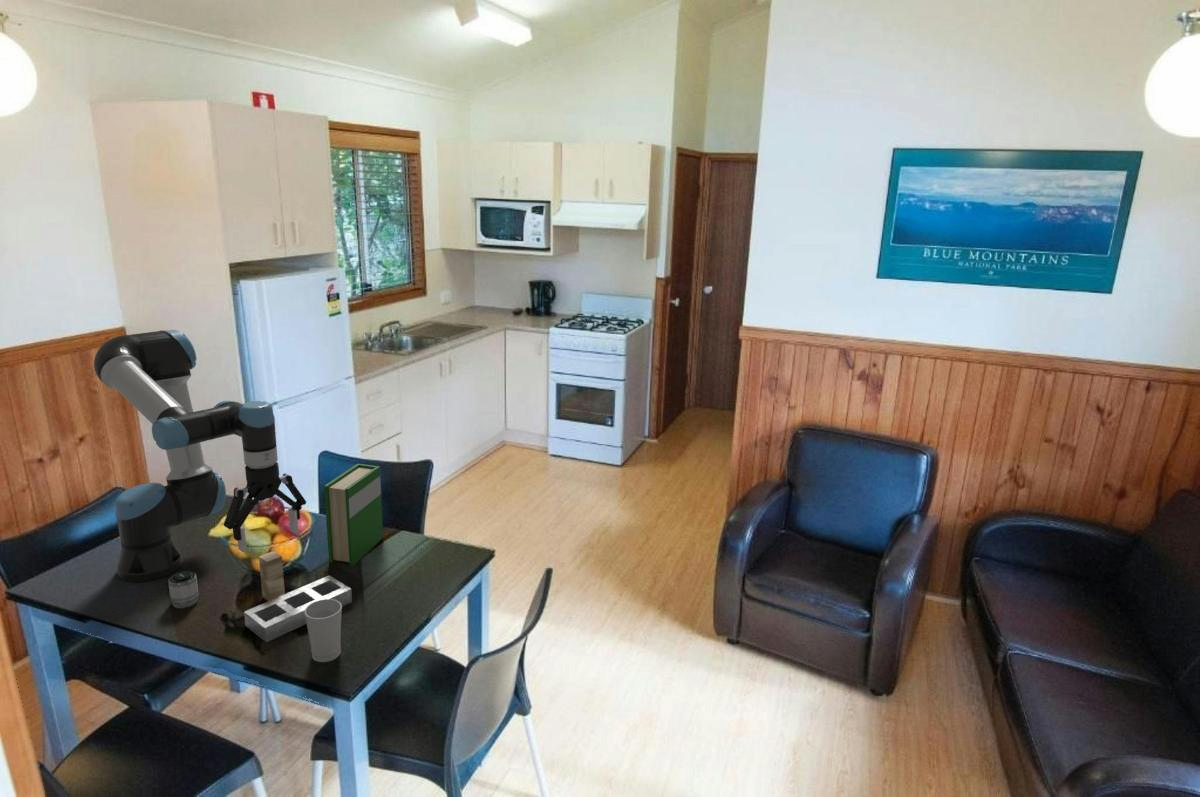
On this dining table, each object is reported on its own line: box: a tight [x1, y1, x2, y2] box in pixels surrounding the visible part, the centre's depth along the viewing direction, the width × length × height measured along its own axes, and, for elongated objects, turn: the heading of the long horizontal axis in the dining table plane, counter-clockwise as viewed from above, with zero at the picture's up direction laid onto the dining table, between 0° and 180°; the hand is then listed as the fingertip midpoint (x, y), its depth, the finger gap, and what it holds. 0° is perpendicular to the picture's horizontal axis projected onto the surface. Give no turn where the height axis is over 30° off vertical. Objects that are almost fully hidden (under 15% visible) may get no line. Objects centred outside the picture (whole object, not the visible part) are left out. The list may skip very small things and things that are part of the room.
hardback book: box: [323, 463, 384, 567], centre depth 207 cm, size 18×7×24 cm, turn 168°
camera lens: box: [167, 570, 199, 609], centre depth 179 cm, size 6×6×8 cm
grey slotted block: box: [243, 575, 353, 643], centre depth 178 cm, size 10×23×4 cm, turn 142°
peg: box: [258, 550, 286, 602], centre depth 183 cm, size 4×4×12 cm
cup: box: [305, 599, 343, 663], centre depth 162 cm, size 8×8×12 cm
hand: (269, 541), depth 180 cm, fingers open, 13 cm apart
